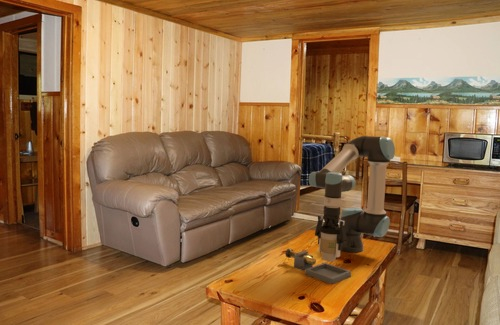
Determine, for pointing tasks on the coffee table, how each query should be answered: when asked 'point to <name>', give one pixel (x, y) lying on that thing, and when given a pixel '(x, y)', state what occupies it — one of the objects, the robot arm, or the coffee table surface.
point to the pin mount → (302, 261)
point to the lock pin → (310, 260)
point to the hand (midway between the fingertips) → (329, 254)
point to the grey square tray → (328, 273)
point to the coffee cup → (329, 242)
